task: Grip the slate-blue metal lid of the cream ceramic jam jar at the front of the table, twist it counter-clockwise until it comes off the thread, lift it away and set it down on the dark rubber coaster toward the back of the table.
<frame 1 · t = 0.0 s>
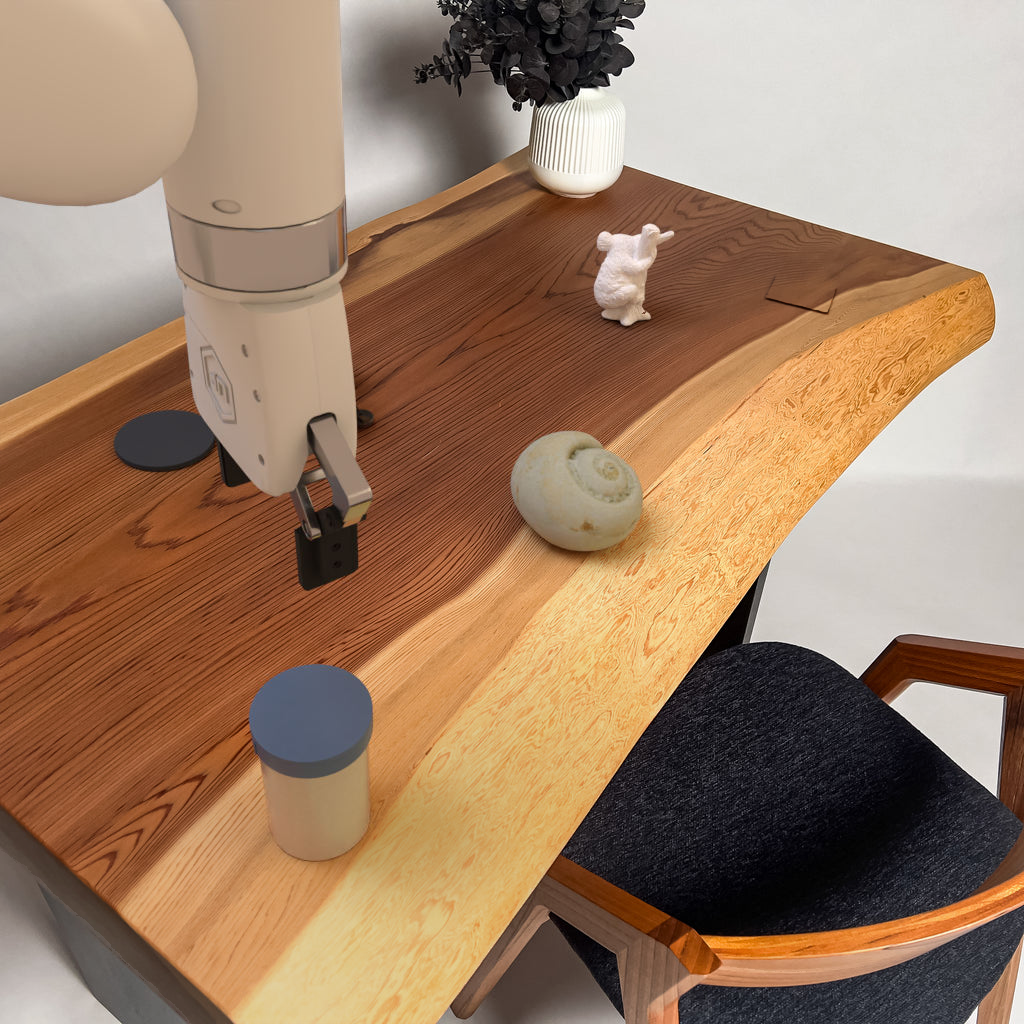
hand: (287, 525, 53), 20 cm above the table, tool pointing down, fingers open, 9 cm apart
jar lid: (311, 713, 55), point 10 cm above the table, screwed on, not yet turned
camera: (320, 398, 98), on the table
coaster 2: (801, 294, 124), on the table
coaster: (165, 442, 90), on the table
koala figurine: (621, 318, 116), on the table
seashell: (565, 521, 86), on the table
jar: (320, 815, 62), on the table
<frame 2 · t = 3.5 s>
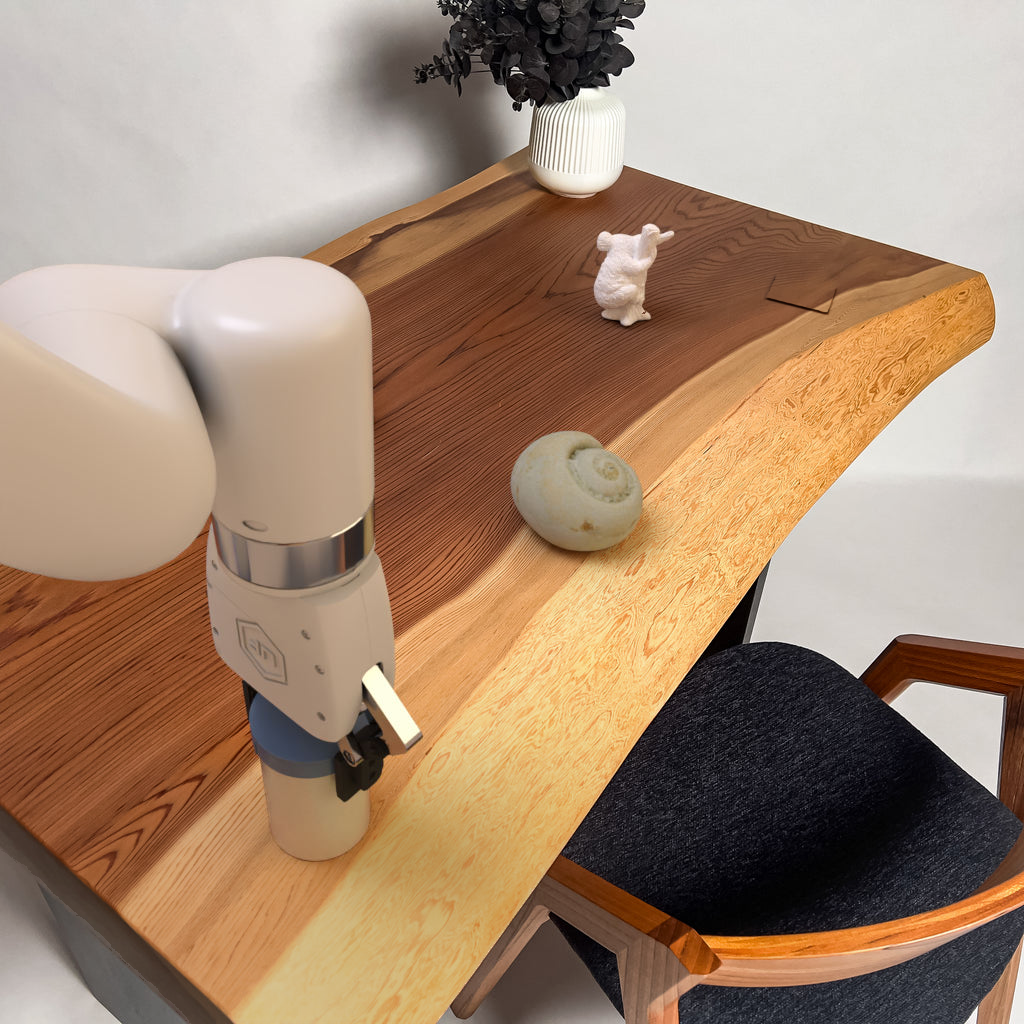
hand: (315, 744, 57), 8 cm above the table, tool pointing down, fingers closed on jar lid, 7 cm apart
jar lid: (311, 713, 55), point 10 cm above the table, screwed on, not yet turned, touching gripper
everything else where it was.
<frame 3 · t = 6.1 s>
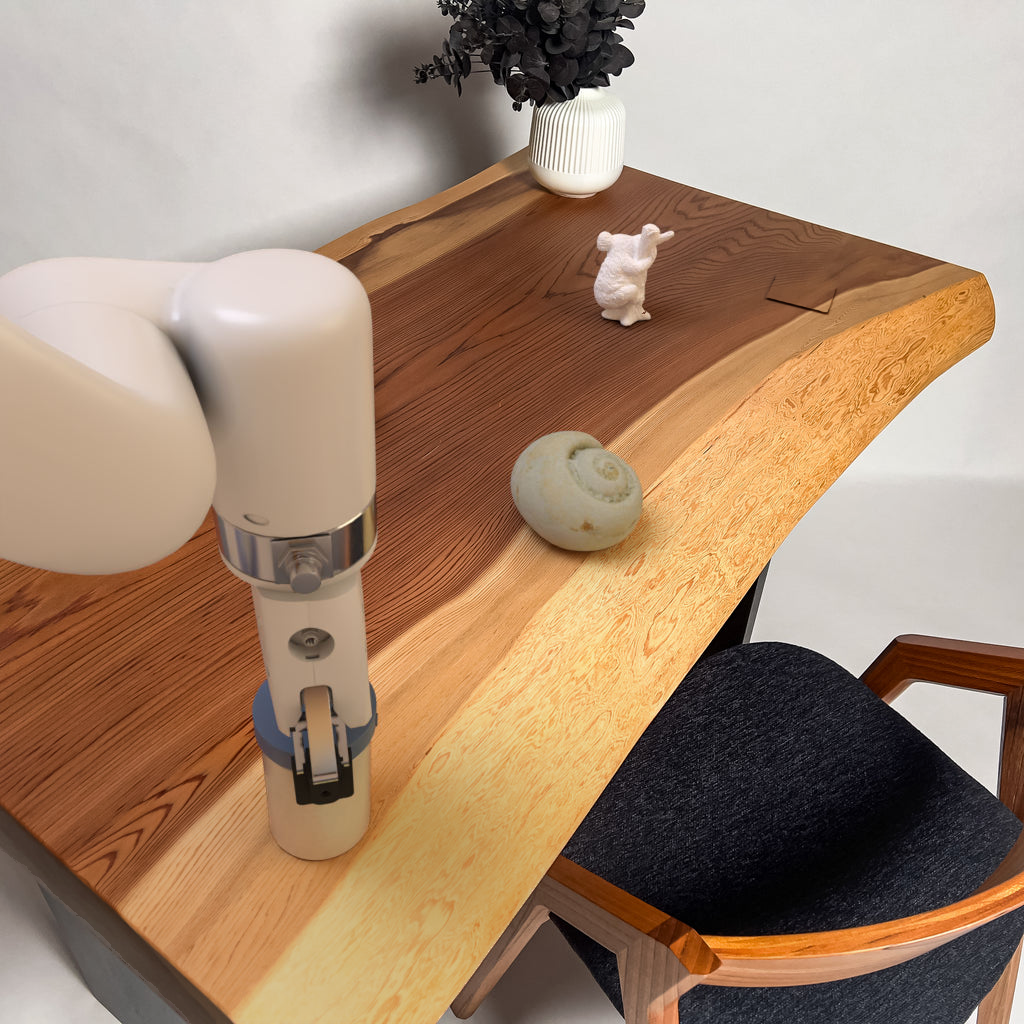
hand: (318, 739, 57), 8 cm above the table, tool pointing down, fingers closed on jar lid, 7 cm apart
jar lid: (315, 707, 55), point 11 cm above the table, turned 143° so far, risen 0.4 cm, still on its thread, touching gripper
everything else where it was.
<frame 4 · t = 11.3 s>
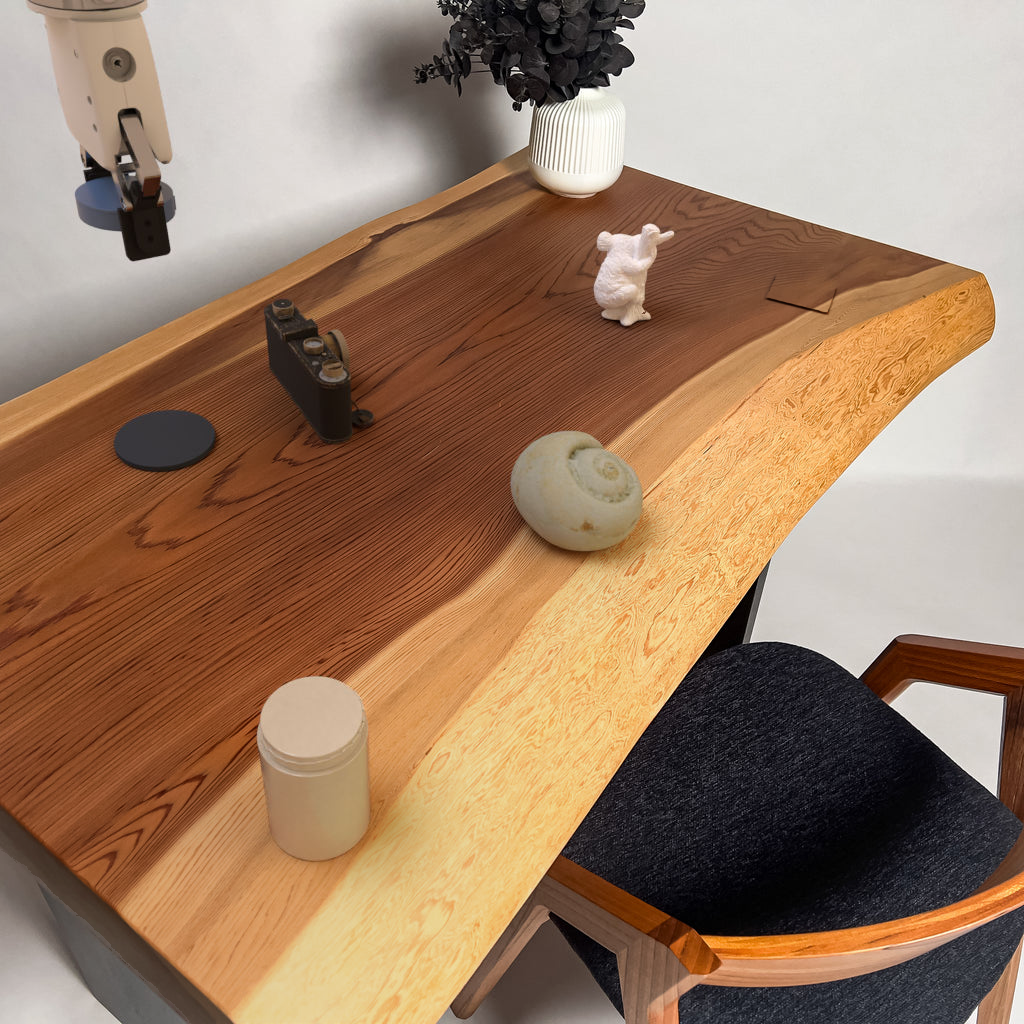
hand: (131, 234, 75), 22 cm above the table, tool pointing down, fingers closed on jar lid, 7 cm apart
jar lid: (125, 196, 73), point 25 cm above the table, off its thread, touching gripper
everything else where it was.
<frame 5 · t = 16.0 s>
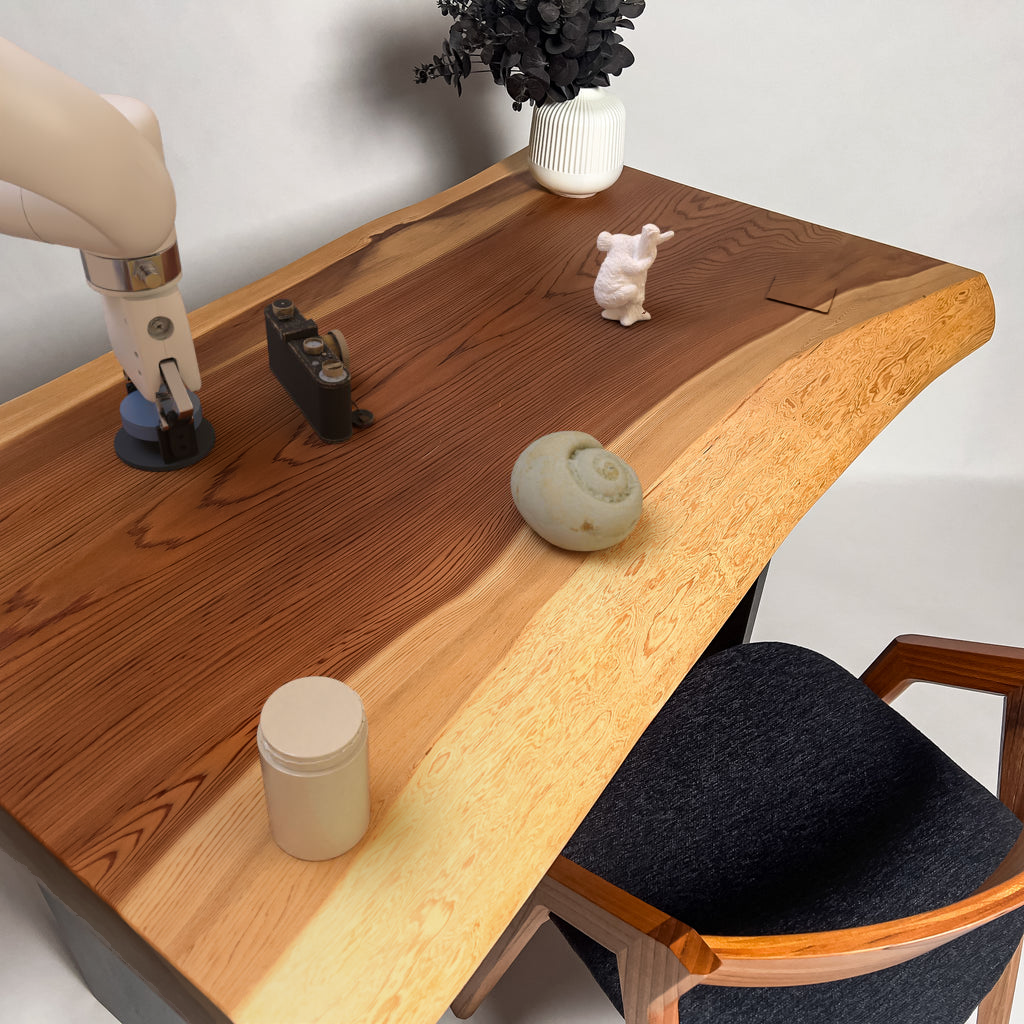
hand: (165, 435, 90), 1 cm above the table, tool pointing down, fingers closed on jar lid, 7 cm apart
jar lid: (160, 407, 88), point 4 cm above the table, off its thread, touching gripper
everything else where it was.
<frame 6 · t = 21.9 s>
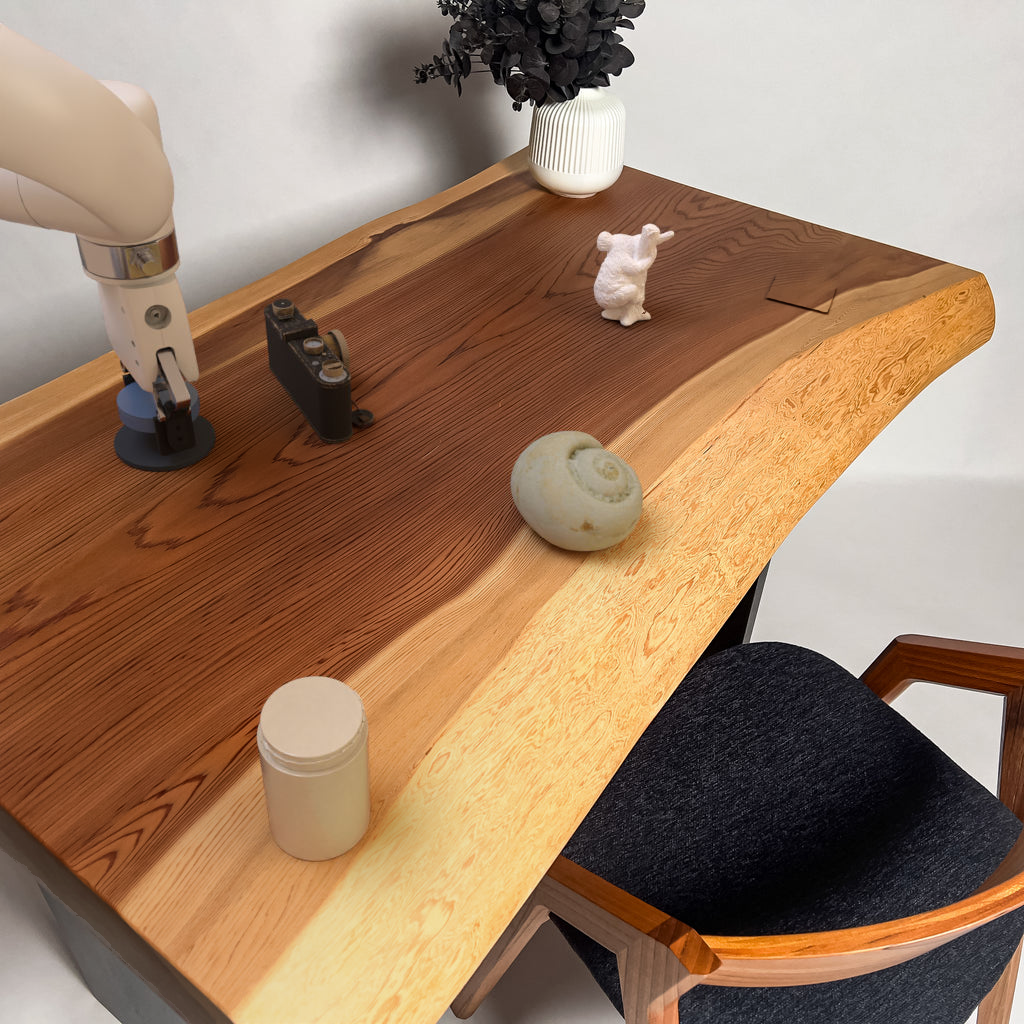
hand: (162, 427, 89), 2 cm above the table, tool pointing down, fingers closed on jar lid, 6 cm apart
jar lid: (158, 399, 87), point 5 cm above the table, off its thread, touching gripper
everything else where it was.
when the fingers open (2 cm above the table, at t = 27.3 s): jar lid drops 3 cm, resting on coaster.
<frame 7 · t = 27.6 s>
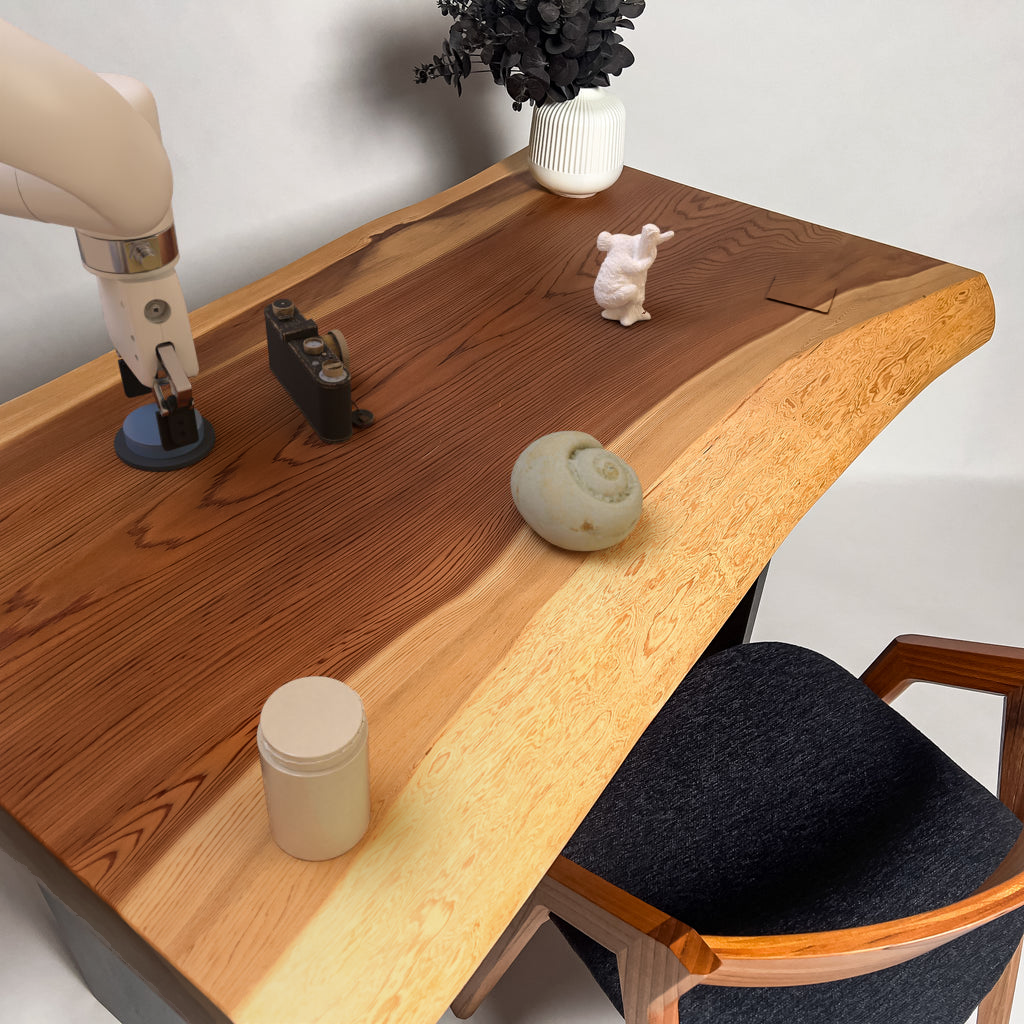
hand: (161, 418, 88), 3 cm above the table, tool pointing down, fingers open, 9 cm apart
jar lid: (163, 425, 89), point 2 cm above the table, off its thread, touching coaster
everything else where it was.
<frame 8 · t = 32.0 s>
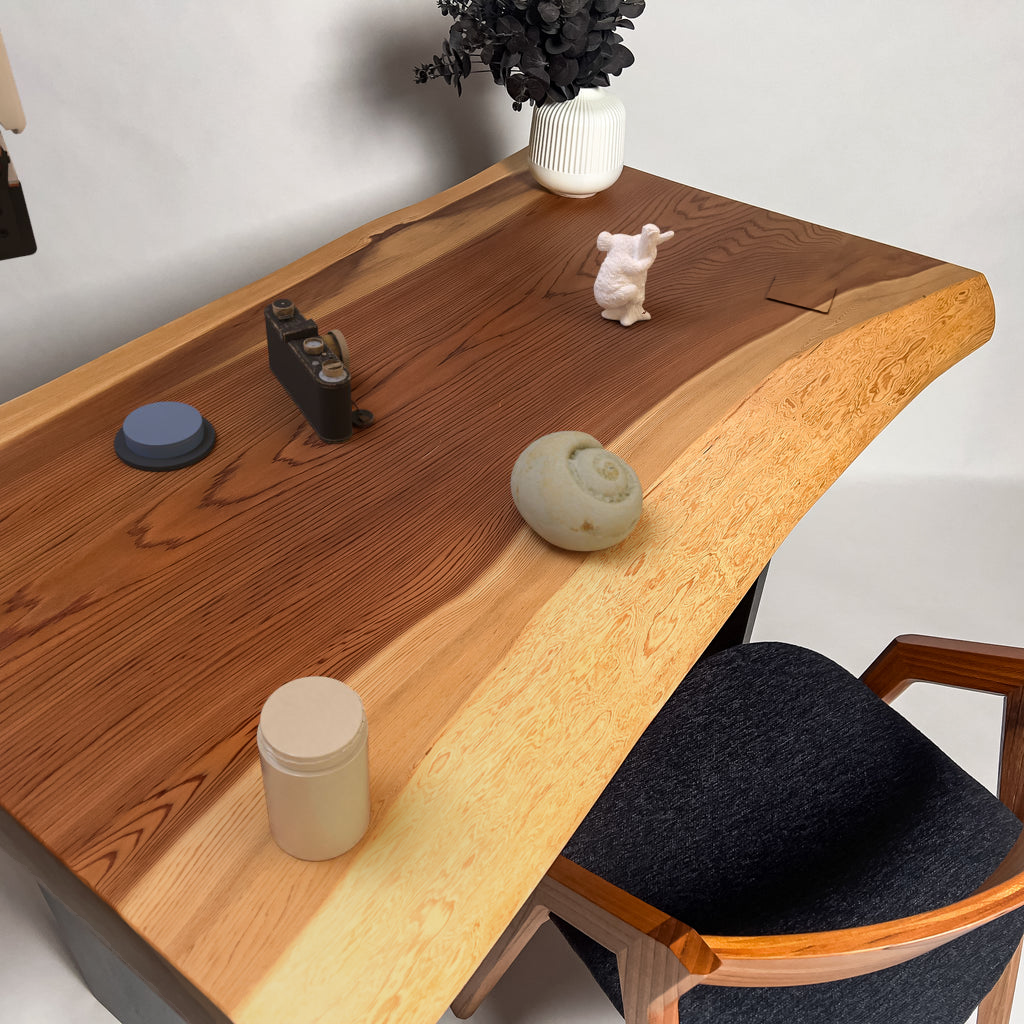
nothing on the table moved.
at the end: the gripper is holding nothing; jar lid point 1.9 cm above the table; jar lid inside the target area on the coaster (0.1 cm from its centre), point 1.9 cm above the coaster's base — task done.
